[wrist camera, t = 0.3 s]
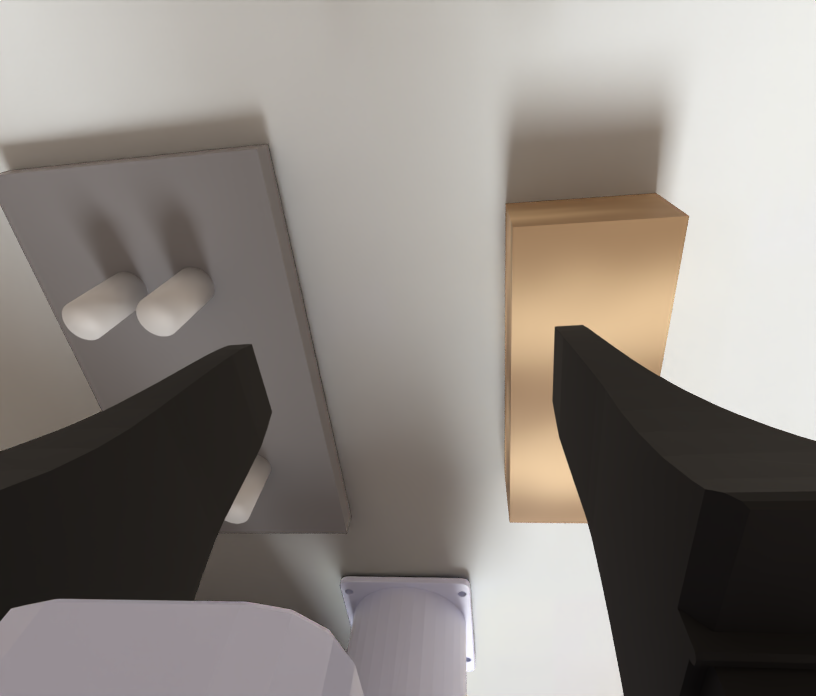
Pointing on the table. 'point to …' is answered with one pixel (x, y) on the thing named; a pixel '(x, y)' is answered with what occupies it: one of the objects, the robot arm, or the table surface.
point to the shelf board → (577, 320)
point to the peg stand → (187, 302)
